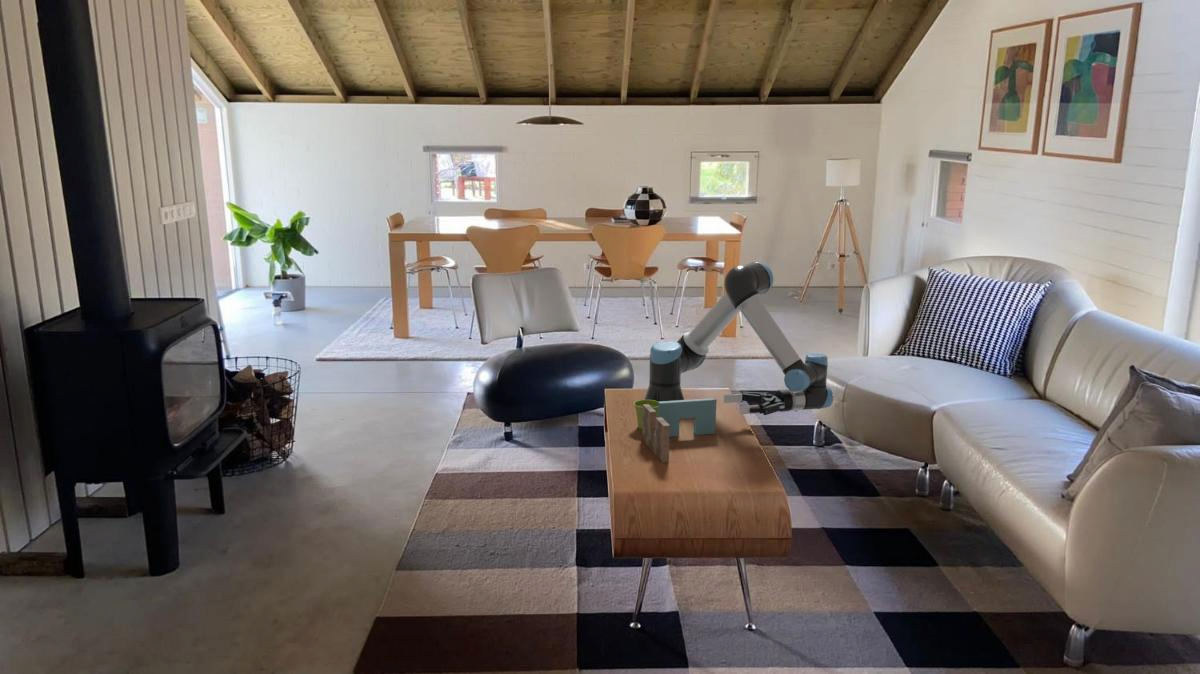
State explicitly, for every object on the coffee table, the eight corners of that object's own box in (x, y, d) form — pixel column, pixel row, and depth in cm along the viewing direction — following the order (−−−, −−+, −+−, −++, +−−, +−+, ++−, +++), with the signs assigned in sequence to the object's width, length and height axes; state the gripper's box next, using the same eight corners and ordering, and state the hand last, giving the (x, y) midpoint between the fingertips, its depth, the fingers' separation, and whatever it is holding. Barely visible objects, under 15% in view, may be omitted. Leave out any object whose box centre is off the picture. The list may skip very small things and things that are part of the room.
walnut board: (642, 438, 280) (642, 404, 278) (647, 438, 281) (648, 404, 278) (662, 462, 260) (663, 425, 257) (668, 462, 260) (669, 425, 257)
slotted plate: (657, 435, 284) (658, 401, 281) (712, 431, 288) (714, 397, 286) (659, 437, 282) (660, 403, 279) (715, 433, 287) (716, 399, 284)
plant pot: (640, 433, 286) (641, 408, 284) (628, 424, 294) (629, 401, 292) (665, 429, 290) (665, 405, 288) (652, 421, 298) (652, 398, 296)
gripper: (805, 421, 280) (746, 426, 275) (772, 400, 304) (717, 404, 299) (806, 399, 279) (747, 404, 274) (773, 380, 302) (718, 384, 297)
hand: (731, 404), depth 286 cm, fingers open, 13 cm apart
